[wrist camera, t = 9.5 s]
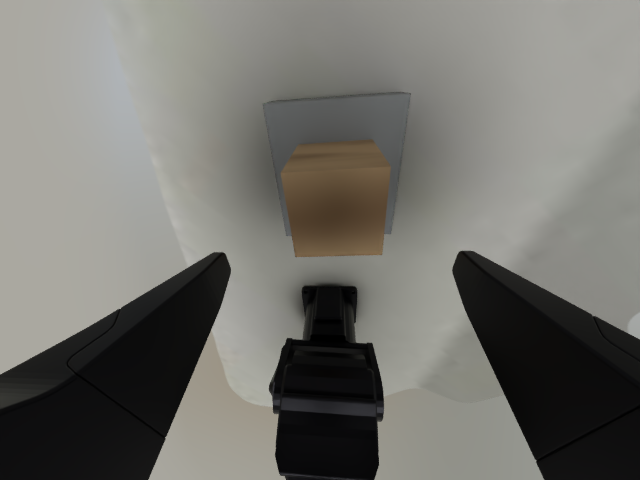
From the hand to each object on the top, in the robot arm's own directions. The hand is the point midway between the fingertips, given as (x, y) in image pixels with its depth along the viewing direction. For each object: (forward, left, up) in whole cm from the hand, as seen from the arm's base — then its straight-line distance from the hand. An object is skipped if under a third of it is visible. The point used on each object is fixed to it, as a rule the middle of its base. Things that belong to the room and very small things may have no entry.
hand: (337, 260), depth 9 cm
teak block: (0, 0, -9) cm, 9 cm away
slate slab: (0, 0, -12) cm, 12 cm away
